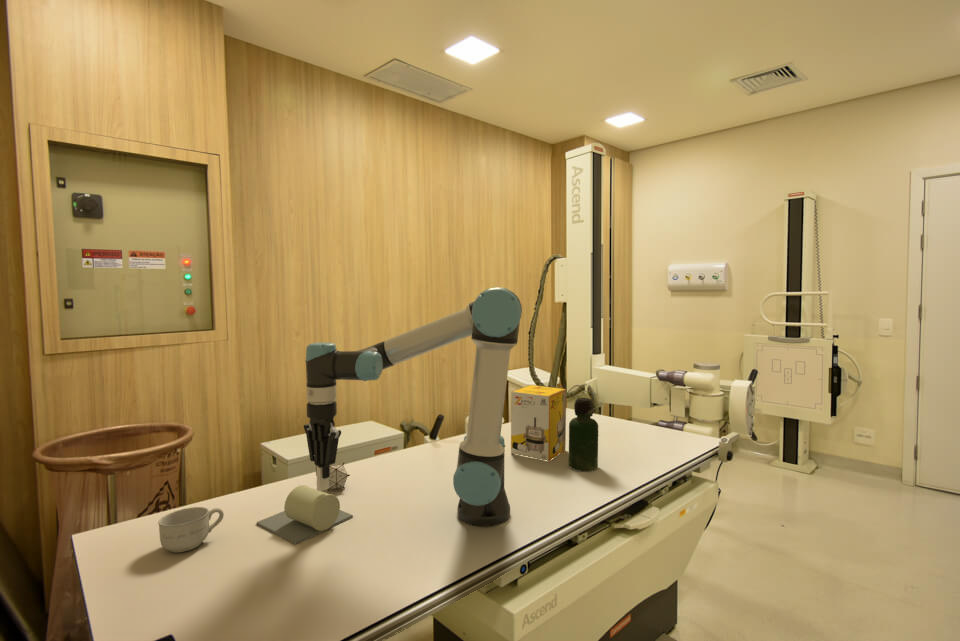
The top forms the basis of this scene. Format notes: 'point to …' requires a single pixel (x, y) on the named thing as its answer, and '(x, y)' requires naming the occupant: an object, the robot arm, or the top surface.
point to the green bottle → (583, 437)
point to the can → (312, 507)
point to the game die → (337, 476)
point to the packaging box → (538, 421)
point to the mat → (295, 526)
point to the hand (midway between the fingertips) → (322, 489)
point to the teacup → (186, 528)
